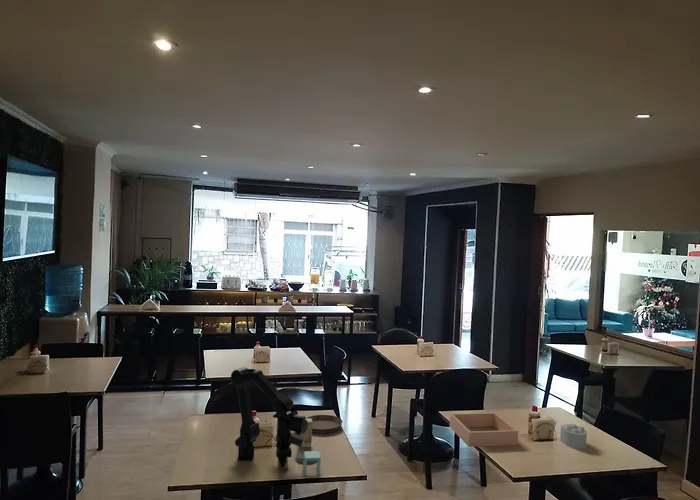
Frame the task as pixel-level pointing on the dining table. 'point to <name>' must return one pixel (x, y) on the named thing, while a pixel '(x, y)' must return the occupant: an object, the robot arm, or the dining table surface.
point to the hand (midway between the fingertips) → (282, 464)
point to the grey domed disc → (300, 458)
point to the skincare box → (307, 434)
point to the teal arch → (311, 456)
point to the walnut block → (284, 466)
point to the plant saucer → (325, 423)
